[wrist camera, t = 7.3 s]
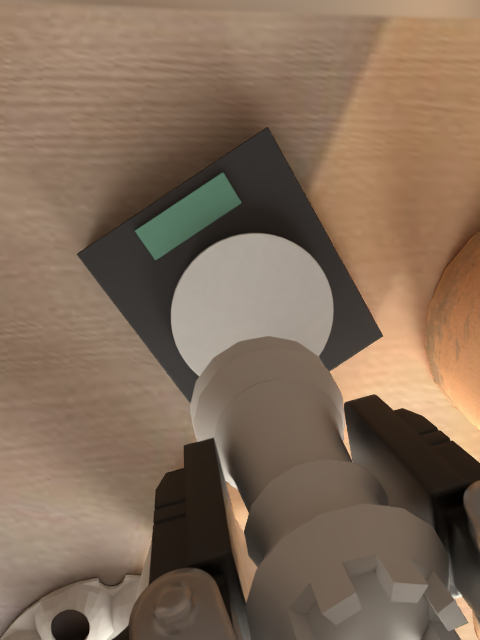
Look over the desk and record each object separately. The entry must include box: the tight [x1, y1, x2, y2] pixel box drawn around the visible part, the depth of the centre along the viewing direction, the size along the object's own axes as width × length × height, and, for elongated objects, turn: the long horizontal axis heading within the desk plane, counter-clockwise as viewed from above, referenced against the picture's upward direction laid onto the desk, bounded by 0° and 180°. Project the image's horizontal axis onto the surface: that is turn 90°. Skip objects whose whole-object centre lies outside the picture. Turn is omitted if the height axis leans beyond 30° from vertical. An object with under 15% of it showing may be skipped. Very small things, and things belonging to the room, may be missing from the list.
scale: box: [77, 127, 383, 404], centre depth 26 cm, size 15×13×3 cm
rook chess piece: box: [190, 336, 468, 640], centre depth 9 cm, size 4×4×8 cm
